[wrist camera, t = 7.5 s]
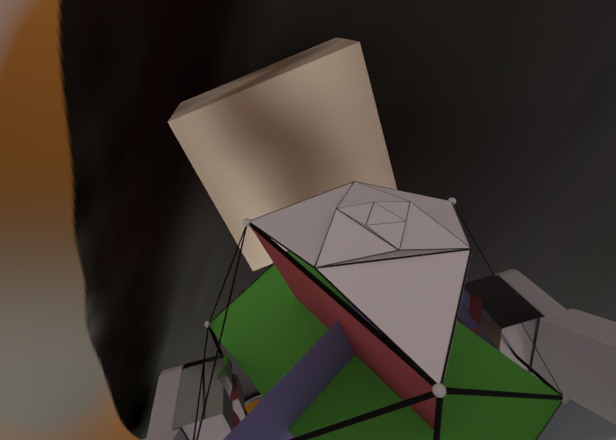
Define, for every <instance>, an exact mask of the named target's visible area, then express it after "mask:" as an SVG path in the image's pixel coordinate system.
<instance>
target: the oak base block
mask: <svg viewBox="0 0 616 440" xmlns="http://www.w3.org/2000/svg"><path fill="white" fill-rule="evenodd" d="M168 124H169V126H170V127H171V129H172V131H173V133H174V134H175V136H176V138H177V139H178V141H179V143H180V145H181V146H182V148H183V150H184V152H185V153H186V155H187V157H188V159H189V160H190V162H191V164H192V166H193V167H194V169H195V171H196V173H197V174H198V176H199V178H200V180H201V181H202V183H203V185H204V187H205V188H206V190H207V192H208V194H209V195H210V197H211V199H212V201H213V202H214V204H215V206H216V208H217V209H218V211H219V213H220V215H221V216H222V218H223V220H224V222H225V223H226V225H227V227H228V229H229V230H230V232H231V234H232V236H233V237H234V239H235V241H236V242H237V244H239V241H240V239H241V236H242V233H243V231H244V228H245V226H244V225H243V221H244V219H247V218H248V219H250V220H252V219H255V218H258V217H260V216H263V215H265V214H268V213H271V212H273V211H276V210H279V209H281V208H284V207H287V206H289V205H292V204H295V203H297V202H300V201H303V200H305V199H308V198H311V197H313V196H316V195H319V194H321V193H324V192H326V191H329V190H332V189H334V188H337V187H340V186H342V185H345V184H348V183H350V182H353V181H357V182H362V183H367V184H371V185H376V186H381V187H386V188H391V189H396V190H397V187H396V183H395V179H394V175H393V171H392V167H391V163H390V159H389V155H388V151H387V147H386V144H385V140H384V136H383V132H382V128H381V124H380V120H379V116H378V112H377V108H376V104H375V100H374V96H373V92H372V88H371V84H370V80H369V76H368V72H367V69H366V65H365V61H364V57H363V53H362V49H361V45H360V42H359V41H353V40H348V39H342V38H337V37H336V38H334V39H332V40H329V41H327V42H324V43H322V44H320V45H317V46H315V47H312V48H310V49H308V50H305V51H303V52H301V53H298V54H296V55H293V56H291V57H289V58H286V59H284V60H281V61H279V62H277V63H274V64H272V65H270V66H267V67H265V68H262V69H260V70H258V71H255V72H253V73H250V74H248V75H246V76H243V77H241V78H239V79H236V80H234V81H231V82H229V83H227V84H224V85H222V86H219V87H217V88H215V89H212V90H210V91H207V92H205V93H203V94H200V95H198V96H196V97H193V98H191V99H188V100H186V101H184V102H181V103H180V104H179V106H178V107H177V109H176V110H175V112H174V113H173V115H172V116H171V118H170V119H169V121H168ZM242 239H243V237H242ZM272 240H273V239H272ZM273 241H274V240H273ZM276 243H277V242H276ZM241 244H242V240H241V243H240V245H239V248H241ZM277 244H278V243H277ZM278 245H279V246H280V247H282V246H281V245H280V244H278ZM282 248H283V249H284V250H285V251H286V252H287V251H288V250H287V249H285V248H284V247H282ZM242 253H243V255H244V256H245V258H246V260H247V262H248V263H249V265H250V267H251V269H252V270H253V271H255V270H257V269H260V268H262V267H265V266H267V265H270V264H272V263H273V261H272V260H271V258H270V257H269V255H268V253H267V252H266V250H265V249H264V247H263V246H262V244H261V242H260V241H259V239H258V238H257V236H256V235H255V233H254V232H253V230H252V228H251V227H250V226H249V227H247V229H246V234H245V238H244V243H243V247H242Z"/></svg>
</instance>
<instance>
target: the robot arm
mask: <svg viewBox="0 0 616 440" xmlns="http://www.w3.org/2000/svg"><path fill="white" fill-rule="evenodd" d="M494 275H495V277H496V278H495V277H494ZM494 275H491V276H487V277H484V278H481V279H478V280H474V281H471V282H468V283H465V286H464V291H463V295H462V300H461V304H460V309H459V314H458V318H457V321H458V322H460V323H461V324H462V325H464V326H465V327H467V328H468V329H469V330H471V331H472V332H474V333H475V334H476V335H478V336H479V337H481V338H482V339H483V340H485V341H486V342H487V343H489V344H490V345H492V346H493V347H494V348H496V349H497V350H499V351H500V352H501V353H503V354H504V355H506V356H507V357H508V358H510V359H511V360H512V361H514V362H515V363H517V364H518V365H519V366H521V367H522V368H524V369H525V370H526V371H528V372H529V373H531V374H532V375H533V376H535V377H536V378H537V379H539V378H538V377H537V376H536V375H534V374H533V373H532V372H531V371H530V370H529V369H528V368H527V367H526V366H524V365H523V364H522V363H521V362H520V361H519V360H518V359H517V358H516V357H515V356H516V354H517V355H518V356H519V357H520V358H521V359H522V360H524V361H525V362H526V363H527V364H528V365H529V366H530V367H531V368H533V369H534V370H535V371H536V372H537V373H538V374H539V375H540V376H542V377H543V378H544V379H545V380H546V381H547V382H548V383H550V384H551V385H552V386H553V387H554V388H555V389H556V390H557V391H559V389H560V391H561V392H562V394H564V395H567V396H568V397H569V399H571V400H573V401H575V402H576V403H578V404H580V405H582V406H583V407H585V408H587V409H589V410H590V411H592V412H594V413H596V414H597V415H599V416H601V417H603V418H604V419H606V420H608V421H610V422H611V423H613V424H615V425H616V322H614V321H610V320H607V319H604V318H601V317H598V316H595V315H592V314H589V313H586V312H582V311H579V310H576V309H569V310H566V309H565V308H564V307H563V306H561V305H560V304H559V303H558V302H556V301H555V300H554V299H553V298H551V297H550V296H549V295H548V294H546V293H545V292H544V291H543V290H541V289H540V288H539V287H538V286H537V285H535V284H534V283H533V282H532V281H530V280H529V279H528V278H527V277H525V276H524V275H523V274H522V273H520V272H519V271H517V270H514V269H511V270H507V271H504V272H501V273H497V274H494ZM496 279H497V280H498V282H499V284H500V285H499V284H498V282H497V280H496ZM500 286H501V287H502V289H503V291H504V292H503V291H502V289H501V287H500ZM504 293H505V294H506V296H507V298H508V300H509V301H510V303H511V305H512V307H513V308H514V310H515V312H516V314H517V315H518V317H519V319H520V321H521V322H522V324H523V326H524V328H525V329H526V331H527V333H528V335H529V336H530V338H531V340H532V342H533V343H534V345H535V347H536V349H537V350H538V352H539V354H540V356H541V357H542V359H543V361H544V363H545V364H546V366H547V368H548V370H549V371H550V373H551V375H552V377H553V378H554V380H555V382H556V384H557V385H558V387H559V389H558V387H557V385H556V384H555V382H554V380H553V378H552V377H551V375H550V373H549V371H548V370H547V368H546V366H545V364H544V363H543V361H542V359H541V357H540V356H539V354H538V352H537V350H536V349H535V347H534V345H533V343H532V342H531V340H530V338H529V336H528V335H527V333H526V331H525V329H524V328H523V326H522V324H521V322H520V321H519V319H518V317H517V315H516V314H515V312H514V310H513V308H512V307H511V305H510V303H509V301H508V300H507V298H506V296H505V294H504ZM214 360H215V356H214V357H210V358H206V359H205V360H204V362H203V360H199V361H195V362H191V363H187V364H184V365H182V366H178V367H174V368H170V369H166V370H163V371H162V373H161V375H160V377H159V380H158V385H157V390H156V395H155V400H154V405H153V410H152V415H151V420H150V425H149V429H148V434H147V438H146V439H143V440H193V434H194V427H195V419H196V412H197V404H198V396H199V389H200V381H201V373H202V366H203V377H202V385H201V393H200V401H199V409H198V417H197V425H196V433H195V440H196V438H197V434H198V429H199V425H200V421H201V416H202V412H203V408H204V403H205V399H206V395H207V391H208V386H209V382H210V378H211V373H212V369H213V365H214ZM539 380H540V379H539ZM540 381H541V380H540ZM560 391H559V392H560ZM561 392H560V393H561ZM244 417H245V403H244V397H243V391H242V388H241V384H240V381H239V379H238V376H237V375H235V374H233V373H232V362H231V360H230V358H229V356H228V354H221V355H218V356H217V360H216V364H215V368H214V373H213V377H212V381H211V386H210V390H209V394H208V399H207V403H206V407H205V412H204V416H203V420H202V425H201V429H200V433H199V438H198V440H223V439H224V438H225V437H226V436H227V435H228V434H229V433H230V432H231V431H232V430H233V429H234V428H235V427H236V426H237V425H238V424H239V423H240V422H241V421H242V420H243V418H244Z"/></svg>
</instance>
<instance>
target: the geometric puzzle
mask: <svg viewBox="0 0 616 440" xmlns="http://www.w3.org/2000/svg"><path fill="white" fill-rule="evenodd" d="M455 203H456V199H455V198H449V199H448V200H445V199H440V198H435V197H430V196H425V195H420V194H415V193H410V192H406V191H401V190H396V189H391V188H386V187H381V186H376V185H371V184H367V183H362V182H357V181H353V182H350V183H348V184H345V185H342V186H340V187H337V188H334V189H332V190H329V191H326V192H324V193H321V194H319V195H316V196H313V197H311V198H308V199H305V200H303V201H300V202H297V203H295V204H292V205H289V206H287V207H284V208H281V209H279V210H276V211H273V212H271V213H268V214H265V215H263V216H260V217H258V218H255V219H252V220H250V219H248V218H247V219H244V221H243V225H244V226H245V228H244V231H243V233H242V236H241V239H240V241H239V244H238V247H237V249H236V252H235V254H234V257H233V260H232V262H231V265H230V268H229V270H228V273H227V276H228V274H229V271H230V269H231V266H232V263H233V261H234V258H235V256H236V253H237V250H238V248H239V245H240V243H241V240H242V244H241V248H240V252H239V257H238V261H237V265H236V270H235V274H234V278H233V283H232V287H231V291H230V296H229V300H228V304H227V307H226V308H225V309H223V310H222V311H221V312H220V313H219V314H218V315H217V316H216V317H215V318H214V319H213V320H212V321H211V318H212V315H213V313H214V310H215V308H216V305H217V302H218V300H219V297H220V295H221V292H222V289H223V287H224V284H225V282H226V279H227V276H226V278H225V281H224V283H223V286H222V289H221V291H220V294H219V297H218V299H217V302H216V304H215V307H214V310H213V312H212V315H211V318H210V320H209V321H207V322H206V323H205V327H207V335H206V343H205V351H204V358H203V362H204V360H205V353H206V345H207V337H208V329H209V330H210V332H211V335H212V337H213V340H214V342H215V345H216V347H217V352H216V356H215V360H214V365H213V369H212V373H211V378H210V382H209V386H208V391H207V395H206V399H205V403H204V408H203V412H202V416H201V421H200V425H199V429H198V434H197V438H196V440H198V438H199V433H200V429H201V425H202V420H203V416H204V412H205V407H206V403H207V399H208V394H209V390H210V386H211V381H212V377H213V373H214V368H215V364H216V360H217V355H218V352H219V354H220V355H221V354H223V353H222V351H221V348H220V342H222V344H223V345H224V346H225V348H226V349H227V350H228V352H229V353H230V354H231V355H232V357H233V358H234V359H235V361H236V362H237V363H238V365H239V366H240V367H241V369H242V370H243V371H244V373H245V374H246V375H247V377H248V378H249V379H250V380H251V382H252V383H253V384H254V386H255V387H256V388H257V390H258V391H259V392H260V394H261V395H262V396H263V399H262V400H261V401H260V402H259V403H258V404H257V405H256V406H255V407H254V408H253V409H252V410H251V411H250V412H249V413H248V414H247V411H246V409H245V417H244V418H243V420H242V421H241V422H240V423H239V424H238V425H237V426H236V427H235V428H234V429H233V430H232V431H231V432H230V433H229V434H228V435H227V436H226V437H225V438H224V439H223V440H537V439H538V437H539V436H540V434H541V433H542V431H543V430H544V428H545V427H546V425H547V424H548V422H549V421H550V419H551V418H552V416H553V415H554V413H555V412H556V410H557V409H558V407H559V406H560V404H561V403H564V404H567V403H569V397H568V396H567V395H564V394H562V392H561V391H560V389H559V387H558V385H557V384H556V382H555V380H554V378H553V377H552V375H551V373H550V371H549V370H548V368H547V366H546V364H545V363H544V361H543V359H542V357H541V356H540V354H539V352H538V350H537V349H536V347H535V345H534V343H533V342H532V340H531V338H530V336H529V335H528V333H527V331H526V329H525V328H524V326H523V324H522V322H521V321H520V319H519V317H518V315H517V314H516V312H515V310H514V308H513V307H512V305H511V303H510V301H509V300H508V298H507V296H506V294H505V293H504V294H505V296H506V298H507V300H508V301H509V303H510V305H511V307H512V308H513V310H514V312H515V314H516V315H517V317H518V319H519V321H520V322H521V324H522V326H523V328H524V329H525V331H526V333H527V335H528V336H529V338H530V340H531V342H532V343H533V345H534V347H535V349H536V350H537V352H538V354H539V356H540V357H541V359H542V361H543V363H544V364H545V366H546V368H547V370H548V371H549V373H550V375H551V377H552V378H553V380H554V382H555V384H556V385H557V387H558V389H559V391H560V392H561V393H560V392H559V391H557V390H556V389H555V388H554V387H553V386H552V385H551V384H550V383H548V382H547V381H546V380H545V379H544V378H543V377H542V376H540V375H539V374H538V373H537V372H536V371H535V370H534V369H533V368H531V367H530V366H529V365H528V364H527V363H526V362H525V361H524V360H522V359H521V358H520V357H519V356H518V355H517V354H516V356H515V357H516V358H517V359H518V360H519V361H520V362H521V363H522V364H523V365H524V366H526V367H527V368H528V369H529V370H530V371H531V372H532V373H533V374H534V375H536V376H537V377H538V378H539V379H540V380H541V381H540V380H539V379H537V378H536V377H535V376H533V375H532V374H531V373H529V372H528V371H526V370H525V369H524V368H522V367H521V366H519V365H518V364H517V363H515V362H514V361H512V360H511V359H510V358H508V357H507V356H506V355H504V354H503V353H501V352H500V351H499V350H497V349H496V348H494V347H493V346H492V345H490V344H489V343H487V342H486V341H485V340H483V339H482V338H481V337H479V336H478V335H476V334H475V333H474V332H472V331H471V330H469V329H468V328H467V327H465V326H464V325H462V324H461V323H460V322H458V321H457V318H458V314H459V309H460V304H461V300H462V295H463V291H464V286H465V281H466V277H467V272H468V268H469V263H470V258H471V254H472V246H471V244H470V242H469V239H468V237H467V235H466V232H465V230H464V228H463V225H462V223H461V221H460V218H459V216H458V214H459V212H458V210H457V209H455V208H456V207H455V205H454V204H455ZM456 210H457V211H456ZM457 212H458V213H457ZM459 215H460V214H459ZM460 217H461V216H460ZM461 219H462V217H461ZM462 221H463V219H462ZM463 222H464V221H463ZM464 224H465V223H464ZM249 226H250V227H251V228H252V230H253V232H254V233H255V235H256V236H257V238H258V239H259V241H260V242H261V244H262V246H263V247H264V249H265V250H266V252H267V253H268V255H269V257H270V258H271V260H272V261H273V263H274V264H273V265H271V266H270V267H269V268H268V269H267V270H266V271H265V272H264V273H263V274H262V275H261V276H259V277H258V278H257V279H256V280H255V281H254V282H253V283H252V284H251V285H250V286H249V287H247V288H246V289H245V290H244V291H243V292H242V293H241V294H240V295H239V296H238V297H237V298H235V299H234V300H233V301H232V302H231V303H230V299H231V295H232V290H233V286H234V282H235V277H236V273H237V269H238V264H239V260H240V256H241V251H242V247H243V243H244V238H245V234H246V229H247V227H249ZM465 226H466V224H465ZM466 228H467V226H466ZM467 229H468V228H467ZM468 231H469V230H468ZM469 233H470V231H469ZM470 235H471V233H470ZM471 236H472V235H471ZM242 237H243V239H242ZM472 238H473V237H472ZM272 239H273V240H274V241H273V240H272ZM473 240H474V238H473ZM276 242H277V243H278V244H280V245H281V246H282V247H284V248H285V249H287V250H288V251H287V252H286V251H285V250H284V249H283V248H282V247H280V246H279V245H278V244H277V243H276ZM474 242H475V240H474ZM475 243H476V242H475ZM476 245H477V244H476ZM477 247H478V245H477ZM478 249H479V247H478ZM479 250H480V249H479ZM480 252H481V251H480ZM481 254H482V252H481ZM482 256H483V254H482ZM483 257H484V256H483ZM484 259H485V258H484ZM485 261H486V259H485ZM486 263H487V261H486ZM487 264H488V263H487ZM488 266H489V265H488ZM489 268H490V266H489ZM490 270H491V268H490ZM491 271H492V270H491ZM492 273H493V272H492ZM493 275H494V273H493ZM494 277H495V275H494ZM495 278H496V277H495ZM496 280H497V279H496ZM497 282H498V280H497ZM498 284H499V282H498ZM499 285H500V284H499ZM500 287H501V286H500ZM501 289H502V287H501ZM502 291H503V289H502ZM503 292H504V291H503ZM229 303H230V304H229ZM214 333H215V334H216V336H217V337H218V338H219V343H218V341H217V339H216V336H215V334H214ZM202 377H203V366H202V373H201V381H200V389H199V396H198V404H197V412H196V419H195V427H194V434H193V440H195V433H196V425H197V417H198V409H199V401H200V393H201V385H202Z"/></svg>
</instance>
